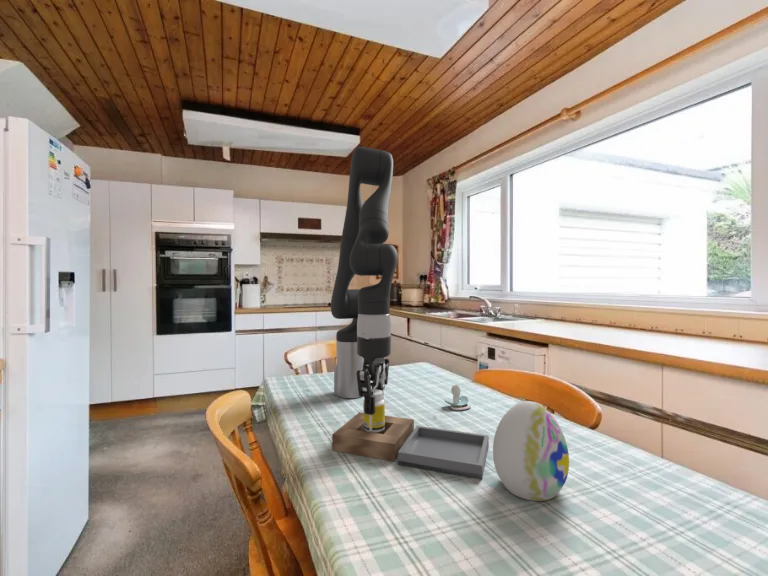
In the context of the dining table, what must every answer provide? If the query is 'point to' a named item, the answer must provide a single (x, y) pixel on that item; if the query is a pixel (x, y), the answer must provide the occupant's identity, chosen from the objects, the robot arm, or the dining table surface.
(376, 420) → the supplement bottle
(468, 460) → the charcoal tray
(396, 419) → the walnut holder
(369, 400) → the robot arm
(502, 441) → the decorative egg
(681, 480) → the dining table surface
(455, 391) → the pacifier
